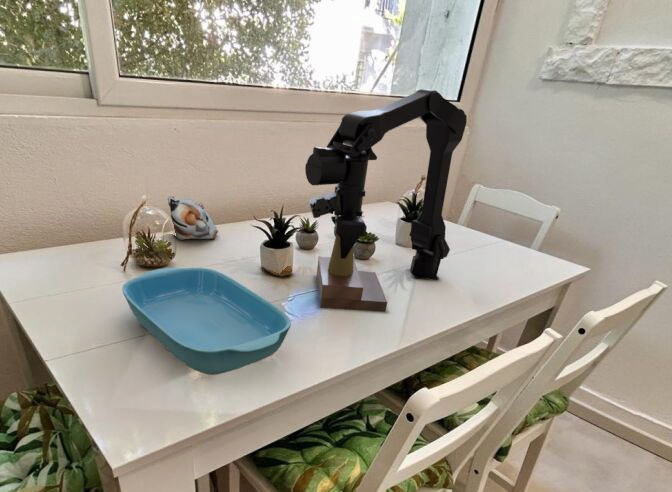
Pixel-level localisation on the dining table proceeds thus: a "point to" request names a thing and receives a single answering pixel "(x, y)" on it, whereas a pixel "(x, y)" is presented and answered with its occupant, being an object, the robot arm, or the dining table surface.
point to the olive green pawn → (340, 260)
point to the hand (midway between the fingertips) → (342, 254)
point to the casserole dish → (206, 318)
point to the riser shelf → (349, 289)
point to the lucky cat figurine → (191, 220)
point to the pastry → (284, 272)
